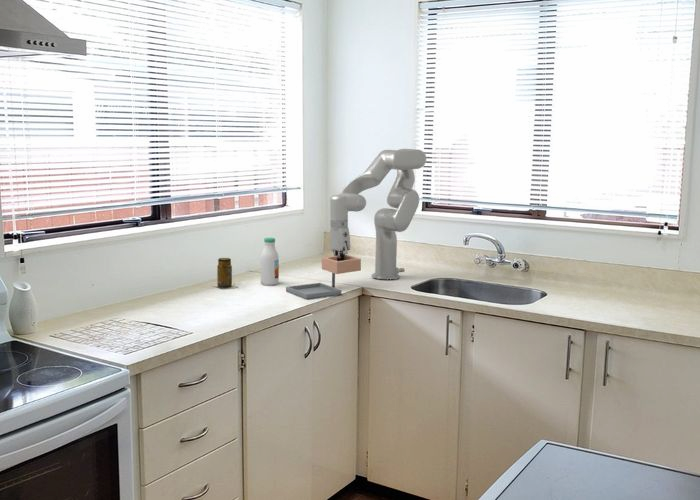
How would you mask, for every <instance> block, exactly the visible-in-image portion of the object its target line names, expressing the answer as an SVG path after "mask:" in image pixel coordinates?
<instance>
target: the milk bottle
mask: <svg viewBox="0 0 700 500" xmlns="http://www.w3.org/2000/svg"><path fill="white" fill-rule="evenodd" d="M263 242H264V247H263V249H262V253H261V254H260V255H261V256H260V284H261V285H263V286H276V285H278V284H279V281H280V280H279V279H280V278H279V275H280V272H279V271H280V269H279V268H280V265H279V264H280V263H279V253H278V251H277V249H276V247H275V244H276V238H275V237H265V238H264V240H263Z"/></svg>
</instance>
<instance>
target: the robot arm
mask: <svg viewBox="0 0 700 500" xmlns="http://www.w3.org/2000/svg"><path fill="white" fill-rule="evenodd" d="M426 163H427V155H426V153H425V151H423V150H421V149H415V148H399V149H383V150H381V151H380V152H379V153H378V154H377V156H376V157H375V158H374V159H373V161H372V162H371V164H369V166H368V167H367V169H365V170H364V172H363V173H361V174H359V175H358V176H356V177H355V178H353V179H352V180H350V181H349V182H348V183H347V184H345V186H344V187H343V188H342V190H341V191H339V194H335V195H334V194H333V195H331V196H330V198H329V203H330V204H329V205H330V206H329V207H330V208H329V212H330V213H329V215H330V216H329V217H330V219H329V220H330V222H329V223H330V228H329V229H330V230H329V239H328V241H329V248H330V251H332V252H333V256H338V258H337V261H344V257H345V255H348V252H349V251H350V250H351V237H350V236H351V235H350V230H349V212H361V211H363V210H364V209H365V207H366V206H367V200H366V198H365V197H364V196H363V195H361V193H362V192H363V191H366V190H368V189H372V188H375V187H378V186H379V185H380V184H381V183H382V182H383V181H384V179H385V178H386V176H387V175H388V174H389V173H390V171H391V170H396V172H397V173H396V178H395V179H394V182H393V185H392V186H391V188H390V190H389V192H388V195H387V197H386V203H387V204H388V206H389V207H390V208H388V207H385V208H384V207H383V208H380V209H378V210H377V211H376V212H375V214H374V219H373V220H374V229H375V265H374V268H375V269H374V273H372V274H371V278H372V277H373V279H374V278H377V279H376V280H379V279H387V280H386V281H392V280H391V279H395V280H398V279H400V274H399V273H405V268H404V267H401V268H400V267H397V255H398V251H397V250H398V248H397V247H398V238H397V233H402V232H405V231H406V230H407V229H408V228H409V226H410V224H411V222H412V220H413V218H414V216H415V214H416V213H417V209H418V208H419V205H420V194H419V193H418V192H417V191H416V190H414V189H413V187H414V185H415V181H416V177H415V173H414V170H419V169H421V168H423V167H424V166H425V165H426ZM396 232H397V233H396ZM388 279H390V280H388Z"/></svg>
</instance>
